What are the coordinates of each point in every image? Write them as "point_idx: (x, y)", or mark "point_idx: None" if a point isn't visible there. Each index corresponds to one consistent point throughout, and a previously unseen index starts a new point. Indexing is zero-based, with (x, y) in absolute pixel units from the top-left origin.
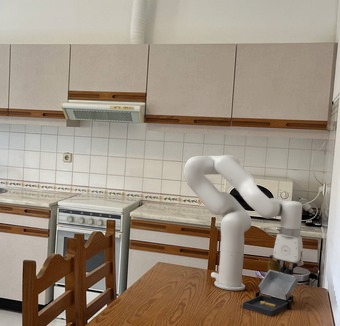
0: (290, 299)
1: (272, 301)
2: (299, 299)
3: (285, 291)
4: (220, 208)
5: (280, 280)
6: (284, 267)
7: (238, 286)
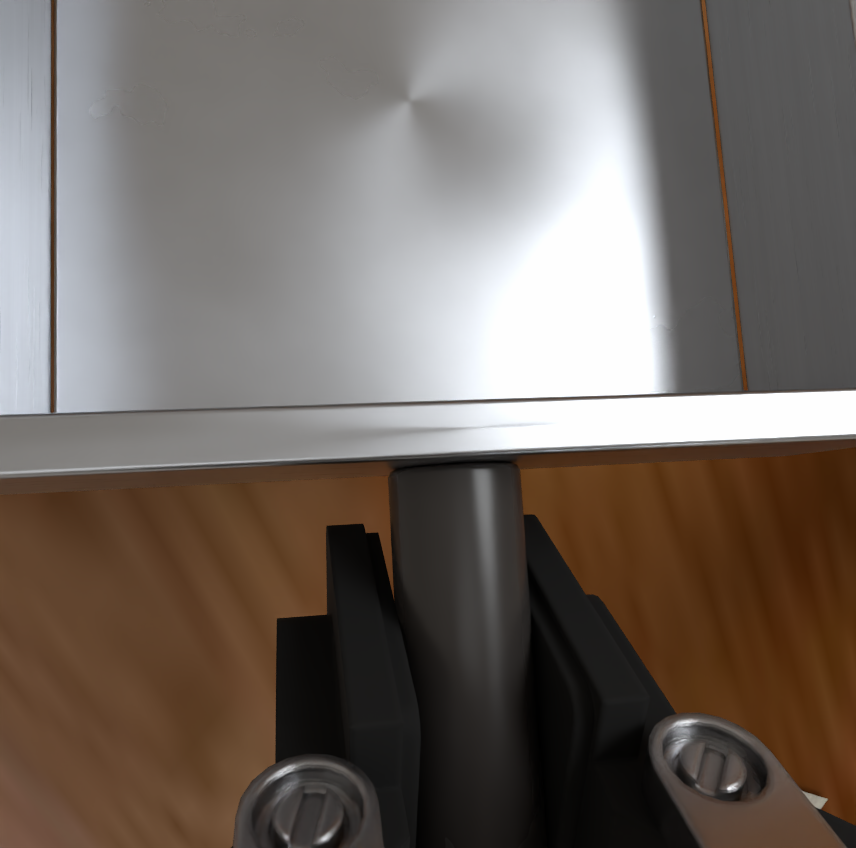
0: None
1: None
2: (212, 557)
3: (189, 32)
4: None
5: (484, 369)
6: (586, 800)
7: None
